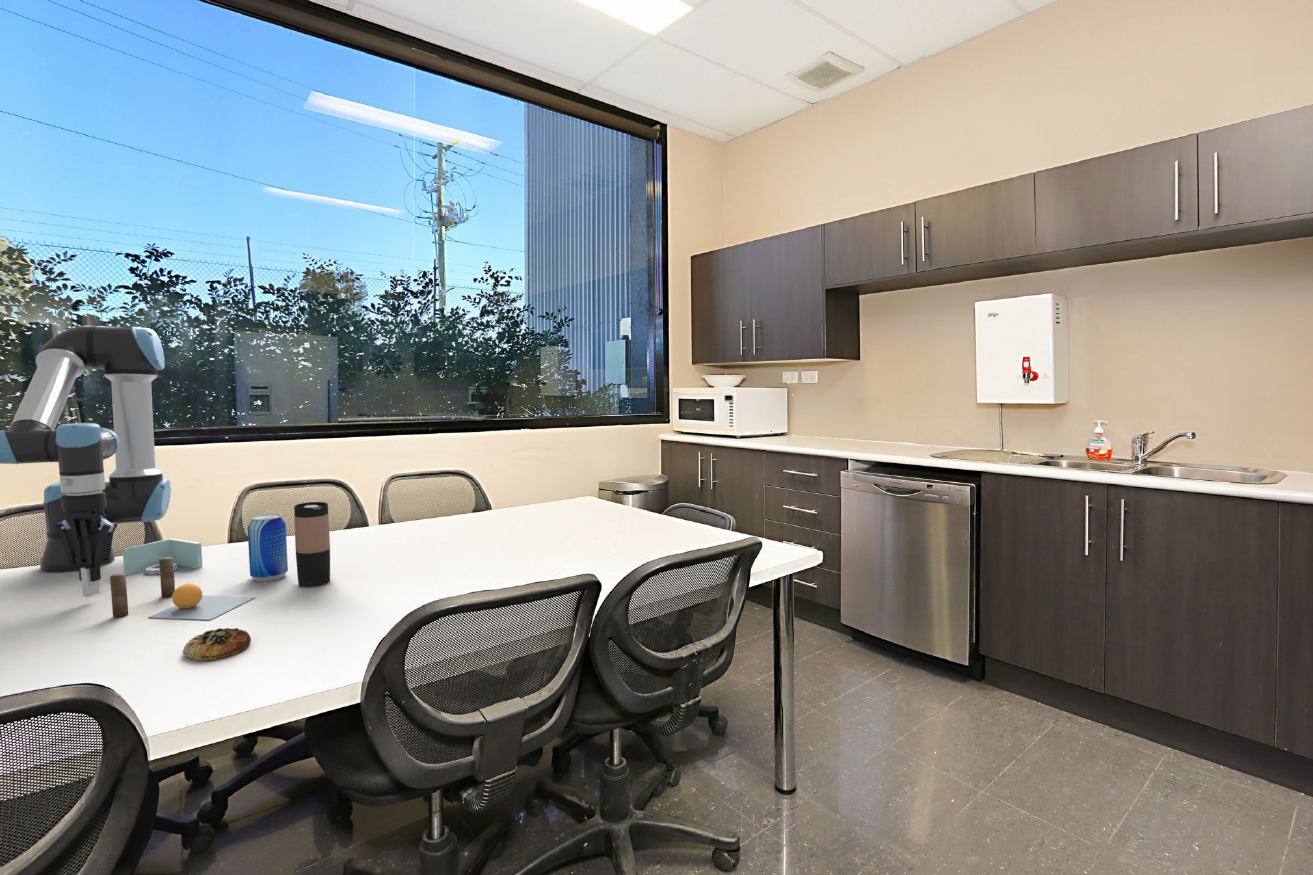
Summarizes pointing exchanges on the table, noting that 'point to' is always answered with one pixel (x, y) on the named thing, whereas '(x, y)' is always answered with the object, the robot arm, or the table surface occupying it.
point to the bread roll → (217, 644)
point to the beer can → (267, 547)
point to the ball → (187, 596)
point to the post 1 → (119, 595)
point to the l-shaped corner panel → (161, 556)
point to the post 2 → (167, 577)
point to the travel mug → (312, 543)
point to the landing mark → (204, 608)
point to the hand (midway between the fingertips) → (91, 594)
